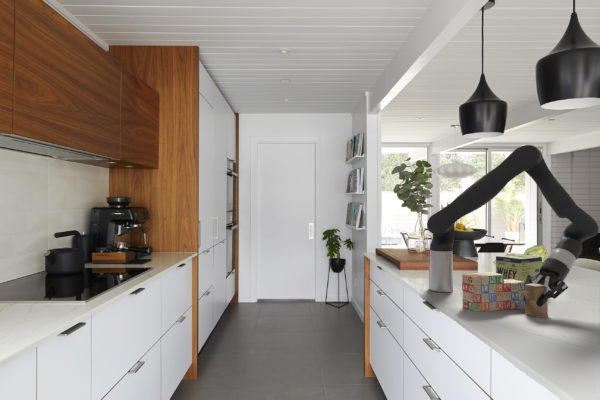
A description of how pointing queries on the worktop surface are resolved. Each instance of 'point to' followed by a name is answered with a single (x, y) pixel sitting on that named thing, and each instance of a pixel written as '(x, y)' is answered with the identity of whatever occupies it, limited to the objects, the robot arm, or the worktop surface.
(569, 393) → the worktop surface
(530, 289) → the wooden mallet
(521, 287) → the stack of blocks
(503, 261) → the protein box
